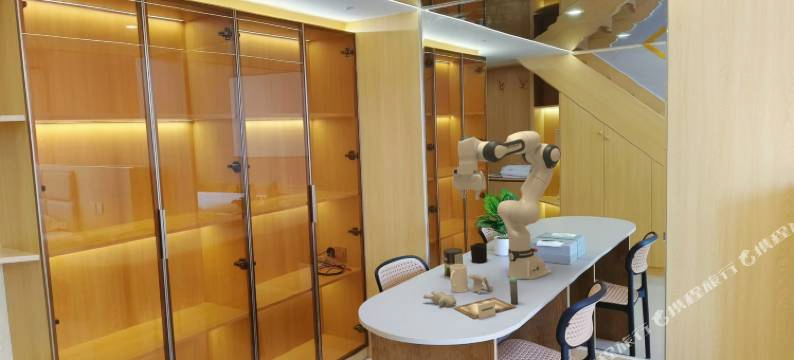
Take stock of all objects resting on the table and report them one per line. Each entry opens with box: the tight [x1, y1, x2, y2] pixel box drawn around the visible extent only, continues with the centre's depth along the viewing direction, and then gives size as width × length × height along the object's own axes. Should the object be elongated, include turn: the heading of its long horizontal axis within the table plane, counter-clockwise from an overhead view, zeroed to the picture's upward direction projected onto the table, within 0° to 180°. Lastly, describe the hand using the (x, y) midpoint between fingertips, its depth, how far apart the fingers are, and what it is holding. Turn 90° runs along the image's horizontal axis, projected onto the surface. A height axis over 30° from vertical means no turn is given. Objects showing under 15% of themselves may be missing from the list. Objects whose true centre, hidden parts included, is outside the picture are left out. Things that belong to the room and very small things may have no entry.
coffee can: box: [442, 247, 464, 280], centre depth 289 cm, size 10×10×14 cm
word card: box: [478, 301, 496, 320], centre depth 228 cm, size 8×1×6 cm, turn 116°
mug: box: [449, 263, 469, 294], centre depth 264 cm, size 12×8×12 cm
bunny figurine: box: [423, 290, 457, 308], centre depth 248 cm, size 10×5×15 cm
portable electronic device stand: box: [469, 273, 494, 295], centre depth 261 cm, size 9×8×8 cm
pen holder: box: [469, 242, 488, 264], centre depth 314 cm, size 9×9×10 cm
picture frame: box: [453, 297, 517, 320], centre depth 238 cm, size 22×16×1 cm
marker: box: [508, 277, 519, 306], centre depth 241 cm, size 3×3×12 cm
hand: (470, 198), depth 261 cm, fingers open, 8 cm apart
